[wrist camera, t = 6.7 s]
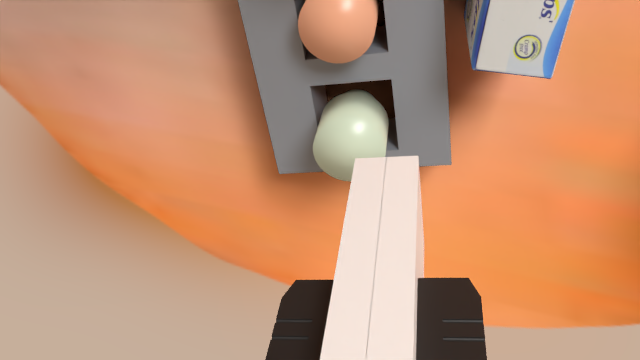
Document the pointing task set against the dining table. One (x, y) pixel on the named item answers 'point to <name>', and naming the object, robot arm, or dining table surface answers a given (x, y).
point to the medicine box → (516, 35)
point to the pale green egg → (350, 133)
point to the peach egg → (338, 28)
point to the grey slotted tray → (352, 79)
